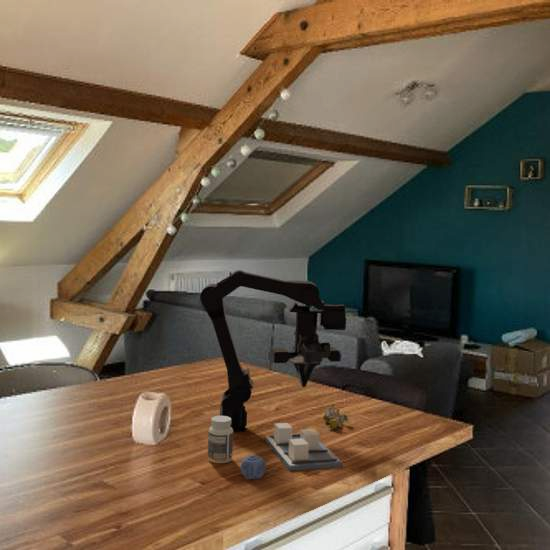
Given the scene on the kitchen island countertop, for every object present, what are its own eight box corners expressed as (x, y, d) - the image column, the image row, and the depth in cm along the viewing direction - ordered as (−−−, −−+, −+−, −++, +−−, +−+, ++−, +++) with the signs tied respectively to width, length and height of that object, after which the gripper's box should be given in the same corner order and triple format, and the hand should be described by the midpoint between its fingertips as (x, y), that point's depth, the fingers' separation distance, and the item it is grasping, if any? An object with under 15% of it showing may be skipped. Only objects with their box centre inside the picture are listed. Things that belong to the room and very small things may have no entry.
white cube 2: (305, 450, 165) (306, 435, 165) (299, 444, 169) (300, 430, 168) (318, 449, 166) (319, 434, 166) (313, 443, 170) (314, 429, 169)
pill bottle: (219, 453, 164) (221, 413, 163) (237, 459, 160) (238, 418, 159) (202, 459, 160) (204, 418, 159) (220, 466, 156) (221, 424, 155)
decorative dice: (240, 476, 151) (240, 459, 150) (250, 471, 154) (251, 454, 154) (255, 481, 148) (255, 463, 148) (265, 475, 152) (266, 458, 151)
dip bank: (289, 470, 155) (289, 464, 155) (264, 439, 175) (264, 434, 175) (342, 466, 159) (342, 460, 159) (311, 436, 179) (312, 431, 179)
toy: (346, 409, 199) (350, 422, 184) (334, 423, 199) (337, 436, 184) (333, 397, 199) (335, 409, 184) (321, 411, 199) (322, 423, 184)
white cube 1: (293, 460, 158) (294, 445, 157) (288, 454, 162) (289, 439, 161) (308, 459, 159) (308, 444, 158) (302, 453, 163) (303, 438, 162)
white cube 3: (278, 443, 169) (279, 428, 169) (273, 437, 173) (274, 423, 173) (291, 442, 170) (292, 427, 170) (287, 436, 174) (287, 422, 174)
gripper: (281, 335, 171) (279, 396, 172) (350, 334, 176) (347, 393, 178) (269, 327, 181) (266, 385, 183) (334, 326, 187) (331, 382, 188)
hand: (303, 386), depth 182 cm, fingers closed
